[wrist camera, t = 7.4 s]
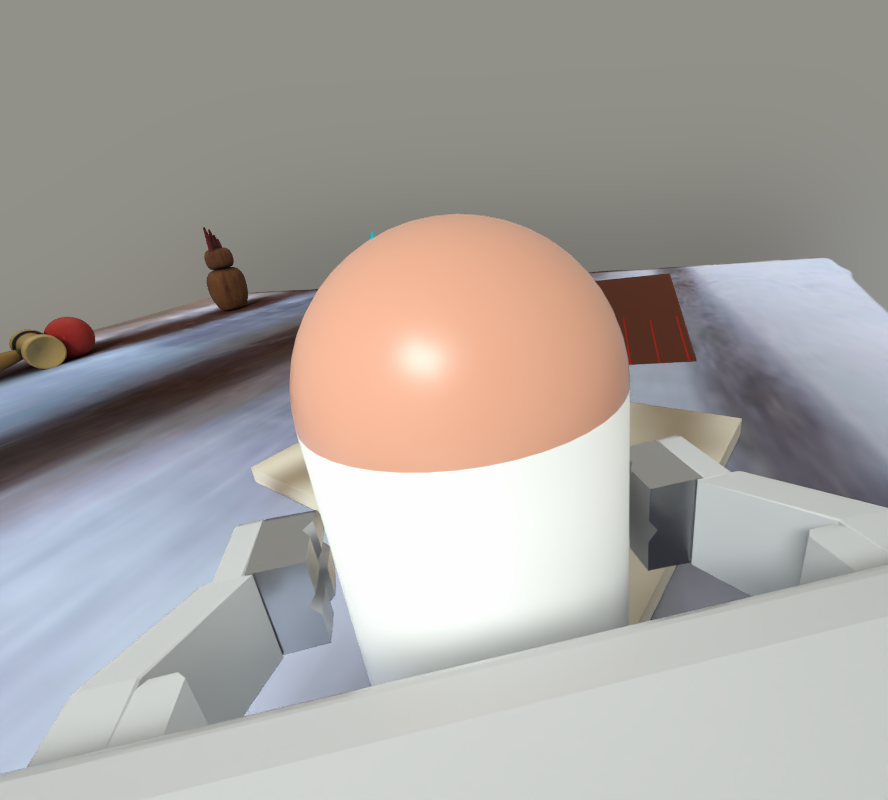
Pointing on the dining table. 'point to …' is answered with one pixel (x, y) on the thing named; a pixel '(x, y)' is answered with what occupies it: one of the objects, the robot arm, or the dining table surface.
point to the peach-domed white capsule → (466, 443)
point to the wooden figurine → (224, 276)
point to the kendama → (50, 344)
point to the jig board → (645, 426)
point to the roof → (649, 319)
